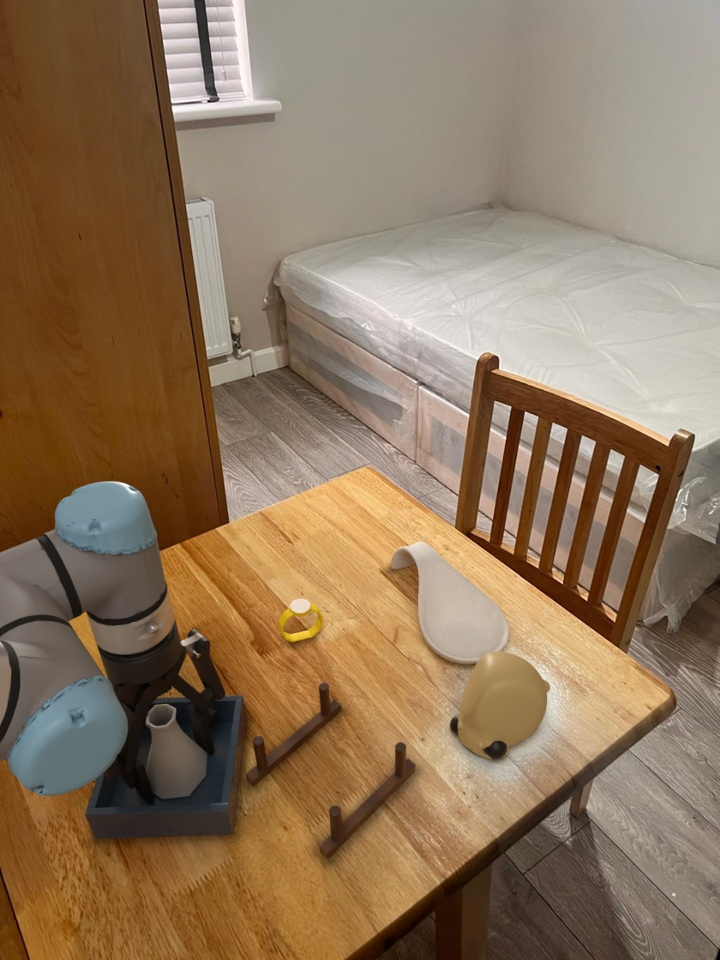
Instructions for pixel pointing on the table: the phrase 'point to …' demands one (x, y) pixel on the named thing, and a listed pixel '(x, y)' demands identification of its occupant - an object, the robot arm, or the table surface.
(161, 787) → the flask
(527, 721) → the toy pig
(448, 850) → the table surface
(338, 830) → the drying rack
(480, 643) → the spoon rest
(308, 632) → the watch
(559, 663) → the table surface
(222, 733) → the basin
